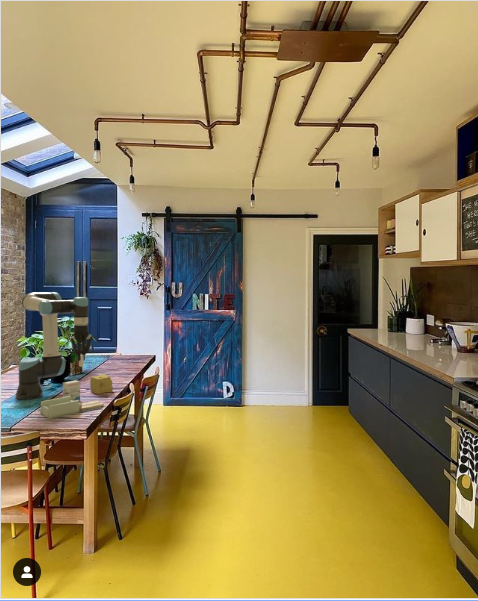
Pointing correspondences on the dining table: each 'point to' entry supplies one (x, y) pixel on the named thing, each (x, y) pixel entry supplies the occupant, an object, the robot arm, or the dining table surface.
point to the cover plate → (90, 405)
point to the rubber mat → (90, 409)
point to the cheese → (101, 384)
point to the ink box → (72, 390)
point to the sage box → (59, 407)
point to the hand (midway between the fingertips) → (81, 366)
